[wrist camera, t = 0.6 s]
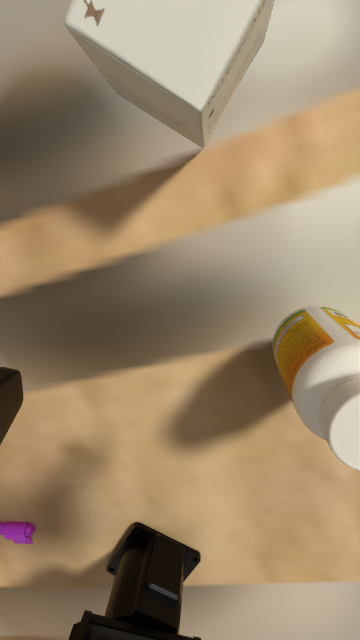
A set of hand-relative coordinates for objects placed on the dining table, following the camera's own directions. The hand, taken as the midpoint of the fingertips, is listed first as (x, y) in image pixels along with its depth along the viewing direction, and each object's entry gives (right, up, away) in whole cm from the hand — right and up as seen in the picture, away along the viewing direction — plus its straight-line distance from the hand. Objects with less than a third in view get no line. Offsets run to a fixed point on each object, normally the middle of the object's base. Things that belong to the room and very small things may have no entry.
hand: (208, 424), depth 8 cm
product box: (0, +16, +11) cm, 20 cm away
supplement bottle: (+8, +1, +15) cm, 17 cm away
